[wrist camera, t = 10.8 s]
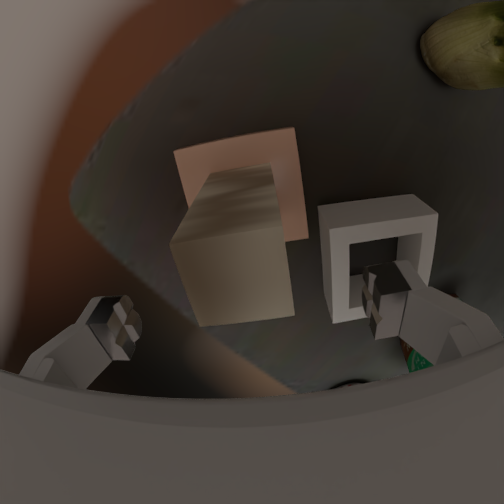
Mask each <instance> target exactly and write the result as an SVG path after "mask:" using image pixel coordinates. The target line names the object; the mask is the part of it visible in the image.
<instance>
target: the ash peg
mask: <svg viewBox="0 0 504 504" xmlns="http://www.w3.org/2000/svg"><path fill="white" fill-rule="evenodd" d="M169 247H170V250H171V252H172V255H173V258H174V261H175V264H176V266H177V269H178V272H179V275H180V277H181V280H182V283H183V285H184V288H185V290H186V293H187V296H188V298H189V301H190V303H191V306H192V308H193V311H194V313H195V316H196V318H197V321H198V323H199V326H200V327H202V326H213V325H223V324H232V323H241V322H250V321H258V320H266V319H274V318H281V317H288V316H295V313H294V305H293V297H292V289H291V282H290V274H289V267H288V260H287V253H286V246H285V239H284V232H283V226H282V220H281V215H280V210H279V204H278V199H277V194H276V189H275V184H274V179H273V174H272V169H271V164H270V162H269V163H263V164H257V165H251V166H245V167H240V168H234V169H229V170H224V171H219V172H214V173H210V175H209V176H208V178H207V180H206V181H205V183H204V184H203V186H202V188H201V189H200V191H199V193H198V194H197V196H196V198H195V199H194V201H193V203H192V204H191V206H190V208H189V210H188V211H187V213H186V215H185V216H184V218H183V220H182V222H181V223H180V225H179V227H178V229H177V231H176V232H175V234H174V236H173V238H172V240H171V241H170V243H169Z"/></svg>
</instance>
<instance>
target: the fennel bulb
mask: <svg viewBox="0 0 504 504" xmlns="http://www.w3.org/2000/svg"><path fill="white" fill-rule="evenodd" d="M420 50H421V55H422V57H423V60H424V62H425V64H426V65H427V67H428V68H429V69H430V70H431V71H433V72H434V73H435V74H436V75H437V76H438V77H439V78H440V79H441V80H442V81H443V82H445V83H446V84H448V85H449V86H451V87H454V88H457V89H463V90H485V89H491V88H498V87H499V88H500V87H504V0H502V1H493V2H483V3H475V4H471V5H469V6H466V7H462V8H460V9H458V10H455V11H454V12H452V13H450V14H448V15H447V16H444V17H442V18H441V19H439V20H438V21H436V22H434V23H433V25H431V26H430V27H429V28H428V29H427V31H426V32H425V33H424V34H423V35H422V36H421V39H420Z"/></svg>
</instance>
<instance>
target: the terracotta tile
mask: <svg viewBox="0 0 504 504" xmlns="http://www.w3.org/2000/svg"><path fill="white" fill-rule="evenodd" d="M173 152H174V156H175V159H176V163H177V167H178V171H179V175H180V178H181V182H182V186H183V189H184V193H185V197H186V200H187V204H188V207H189V208H190V206H191V204H192V203H193V201H194V199H195V198H196V196H197V194H198V193H199V191H200V189H201V188H202V186H203V184H204V183H205V181H206V180H207V178H208V176H209V175H210V173H214V172H219V171H224V170H229V169H234V168H240V167H245V166H251V165H257V164H263V163H269V162H270V164H271V169H272V174H273V179H274V184H275V189H276V194H277V199H278V204H279V210H280V215H281V220H282V226H283V232H284V239H285V242H287V241H293V240H300V239H306V238H309V235H308V226H307V217H306V208H305V200H304V192H303V184H302V177H301V169H300V162H299V155H298V149H297V142H296V136H295V129H294V127H285V128H278V129H272V130H265V131H259V132H253V133H248V134H242V135H237V136H232V137H227V138H222V139H217V140H212V141H208V142H203V143H199V144H195V145H190V146H186V147H182V148H178V149H176V150H175V151H173Z"/></svg>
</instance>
